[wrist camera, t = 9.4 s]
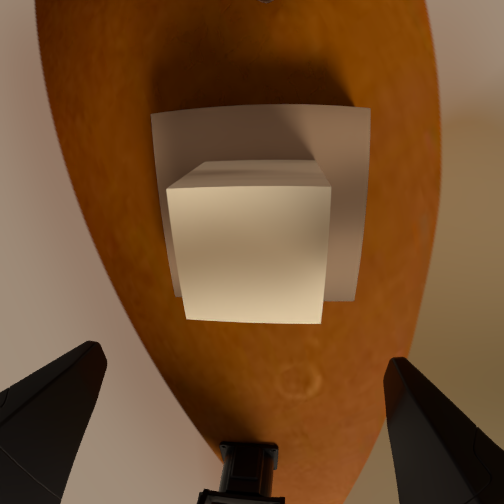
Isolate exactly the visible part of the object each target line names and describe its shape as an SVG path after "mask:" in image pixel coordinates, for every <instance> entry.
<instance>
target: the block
mask: <svg viewBox="0 0 504 504" xmlns="http://www.w3.org/2000/svg"><path fill="white" fill-rule="evenodd" d="M166 192H167V200H168V208H169V215H170V223H171V230H172V237H173V244H174V250H175V257H176V263H177V269H178V275H179V281H180V287H181V292H182V298H183V303H184V308H185V314H186V319H193V320H209V321H228V322H251V323H290V324H321V316H322V307H323V297H324V287H325V277H326V265H327V253H328V239H329V224H330V206H331V185H330V184H329V182H328V180H327V179H326V177H325V175H324V174H323V172H322V170H321V169H320V167H319V165H318V164H317V162H316V160H233V161H209V162H204V163H202V164H201V165H199V166H198V167H196V168H195V169H194V170H192V171H191V172H189V173H188V174H186V175H185V176H184V177H182V178H181V179H179V180H178V181H176V182H175V183H174V184H172V185H171V186H169V187H168V188H167V189H166Z"/></svg>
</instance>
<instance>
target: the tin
mask: <svg viewBox="0 0 504 504" xmlns="http://www.w3.org/2000/svg"><path fill="white" fill-rule="evenodd" d="M258 1H260V2H264V3H269V2H271V1H273V0H258Z"/></svg>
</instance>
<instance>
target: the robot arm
mask: <svg viewBox="0 0 504 504" xmlns="http://www.w3.org/2000/svg"><path fill="white" fill-rule="evenodd" d="M106 368H107V359H106V357H105V354H104V352H103V350H102V347H101V345H100V344H99V343H98V342H94V341H86V342H84V343H83V344H81V345H79V346H78V347H76V348H74V349H73V350H71V351H69V352H68V353H66V354H64V355H62V356H61V357H59V358H57V359H56V360H54V361H52V362H51V363H49V364H47V365H46V366H44V367H42V368H40V369H39V370H37V371H35V372H34V373H32V374H30V375H29V376H27V377H25V378H24V379H22V380H20V381H19V382H17V383H15V384H14V385H12V386H10V388H7V389H5V390H4V391H2V392H0V504H60V503H61V499H62V496H63V493H64V490H65V487H66V484H67V480H68V477H69V474H70V472H71V468H72V466H73V462H74V460H75V457H76V454H77V452H78V449H79V446H80V443H81V441H82V438H83V435H84V433H85V430H86V428H87V425H88V422H89V420H90V417H91V414H92V412H93V410H94V407H95V404H96V401H97V398H98V395H99V391H100V388H101V385H102V381H103V378H104V375H105V371H106ZM383 384H384V394H385V405H386V417H387V427H388V433H389V439H390V444H391V449H392V455H393V461H394V467H395V474H396V480H397V488H398V494H399V503H400V504H504V450H502V449H501V448H500V447H499V446H498V445H496V444H495V443H494V442H493V441H492V440H491V439H490V438H489V437H488V436H487V435H486V434H485V433H484V432H483V431H482V430H481V429H480V428H479V427H477V428H476V425H475V424H474V423H473V422H472V421H471V420H470V419H469V418H468V417H467V416H466V415H465V414H464V413H463V412H462V411H461V410H460V409H459V408H458V407H457V406H456V405H455V404H454V403H453V402H452V401H451V400H450V399H448V398H447V397H446V396H445V395H444V394H443V393H442V392H441V391H440V390H439V389H438V388H437V387H436V386H435V385H434V384H433V383H432V382H430V380H428V379H427V378H426V377H425V376H424V375H423V374H422V373H421V372H420V371H419V370H418V369H417V368H416V367H415V366H414V365H412V364H411V363H410V362H409V361H408V360H407V359H406V358H405V357H393V358H391V359H390V361H389V364H388V367H387V369H386V372H385V375H384V380H383ZM219 447H220V450H221V454H222V457H223V461H224V465H223V471H222V476H221V481H220V487H219V492H217V491H210V490H209V489H204V491H203V492H200V493H199V497H198V502H197V504H285V497H271V492H272V481H273V470H276V469H277V462H278V446H270V445H251V444H238V443H228V442H221V443H220V446H219Z"/></svg>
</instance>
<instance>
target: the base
mask: <svg viewBox="0 0 504 504" xmlns="http://www.w3.org/2000/svg"><path fill="white" fill-rule="evenodd" d="M151 123H152V135H153V146H154V157H155V166H156V175H157V184H158V192H159V200H160V207H161V215H162V222H163V229H164V235H165V242H166V248H167V254H168V260H169V266H170V271H171V277H172V282H173V288H174V293H175V297H182V292H181V287H180V281H179V275H178V269H177V263H176V257H175V250H174V244H173V237H172V230H171V223H170V215H169V208H168V200H167V192H166V189H167V188H168V187H169V186H171V185H172V184H174V183H175V182H176V181H178V180H179V179H181V178H182V177H184V176H185V175H186V174H188V173H189V172H191V171H192V170H194V169H195V168H196V167H198V166H199V165H201V164H202V163H204V162H209V161H233V160H316V162H317V164H318V165H319V167H320V169H321V170H322V172H323V174H324V175H325V177H326V179H327V180H328V182H329V184H330V185H331V206H330V224H329V239H328V253H327V265H326V277H325V287H324V297H323V301H354V298H355V292H356V285H357V279H358V272H359V265H360V257H361V249H362V241H363V232H364V223H365V213H366V201H367V188H368V173H369V154H370V108H362V107H349V106H333V105H309V104H260V105H235V106H220V107H207V108H196V109H186V110H177V111H169V112H162V113H155V114H151Z"/></svg>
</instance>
